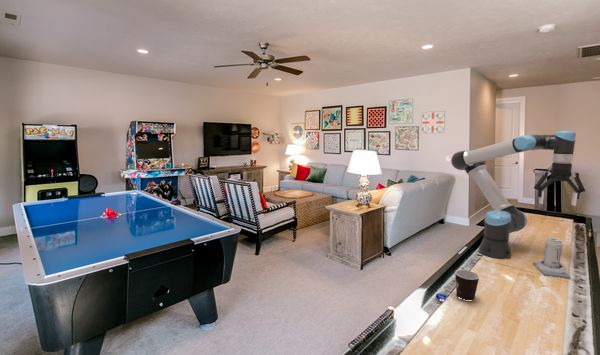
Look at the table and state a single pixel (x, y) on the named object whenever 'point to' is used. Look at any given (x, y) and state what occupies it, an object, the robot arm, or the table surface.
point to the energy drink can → (552, 253)
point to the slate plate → (552, 273)
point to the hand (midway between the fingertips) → (556, 204)
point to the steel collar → (559, 270)
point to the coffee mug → (466, 284)
